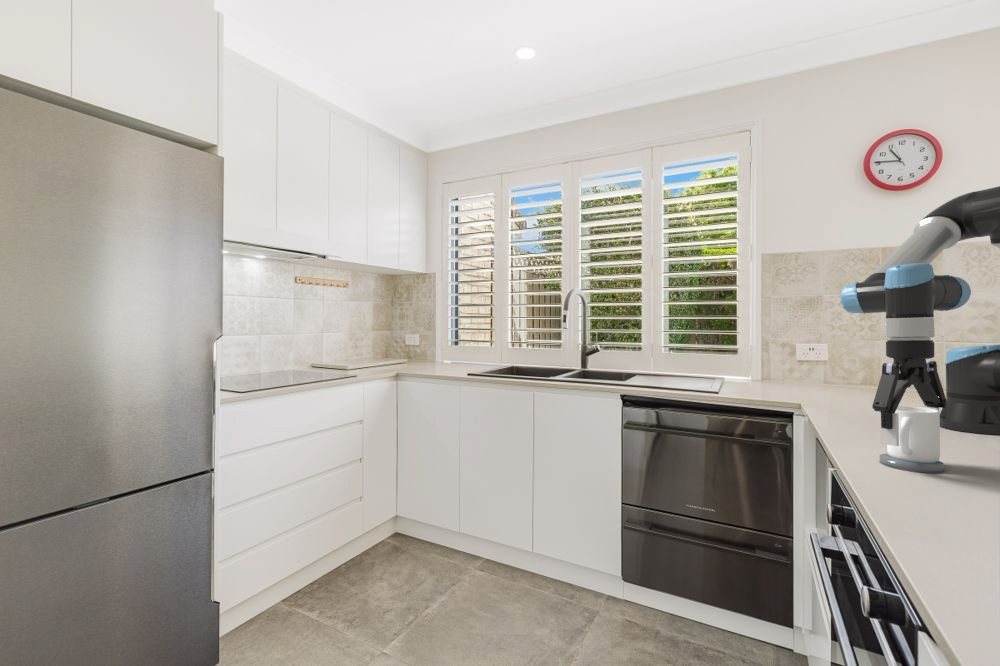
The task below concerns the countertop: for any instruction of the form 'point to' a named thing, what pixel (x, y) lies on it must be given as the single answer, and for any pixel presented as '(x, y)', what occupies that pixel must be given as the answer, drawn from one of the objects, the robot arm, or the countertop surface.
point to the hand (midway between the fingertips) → (910, 441)
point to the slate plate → (911, 464)
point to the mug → (917, 435)
